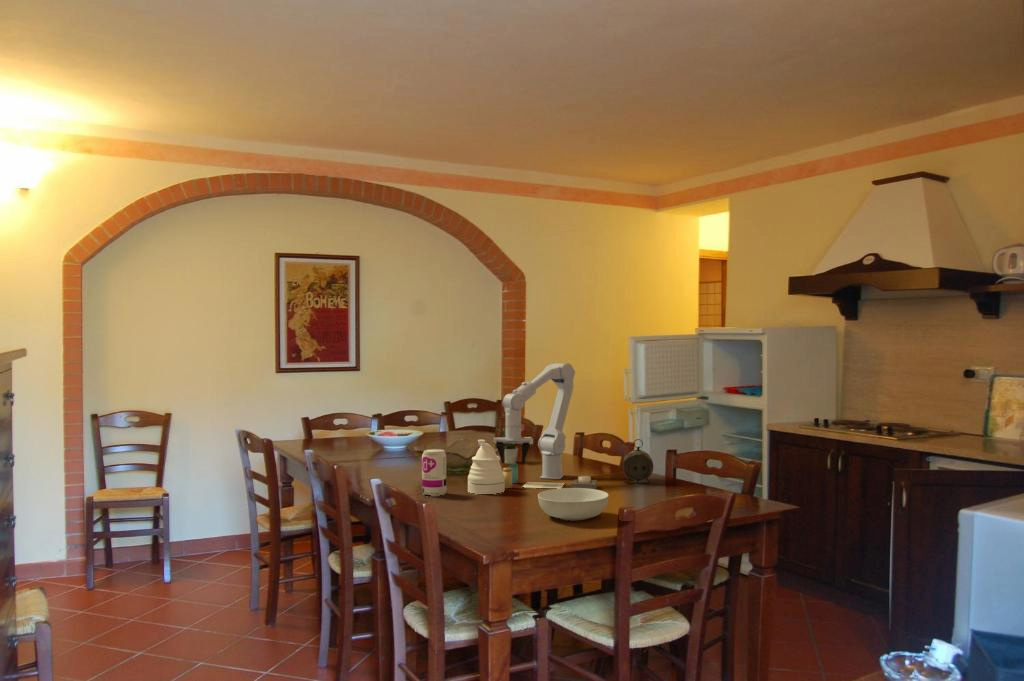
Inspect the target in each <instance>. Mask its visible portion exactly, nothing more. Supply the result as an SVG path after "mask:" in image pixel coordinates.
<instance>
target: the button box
mask: <svg viewBox="0 0 1024 681" xmlns="http://www.w3.org/2000/svg"><path fill="white" fill-rule="evenodd" d="M597 487H598V480H597V479H591V483H578V479H574V480H572V483H571V488H587V489H595V490H597Z"/></svg>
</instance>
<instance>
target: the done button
mask: <svg viewBox="0 0 1024 681" xmlns="http://www.w3.org/2000/svg"><path fill="white" fill-rule="evenodd" d="M577 480H578V483H591V480H592V478H591V476H589V475H579V476H577Z"/></svg>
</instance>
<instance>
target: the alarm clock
mask: <svg viewBox="0 0 1024 681" xmlns="http://www.w3.org/2000/svg"><path fill="white" fill-rule="evenodd" d="M636 441H640V442H641V446H636V445H635V442H636ZM643 445H644V442H643V440H642V439H639V438H636V439H635V440H634V441H633V447H635V448H636V449H633V450H631V451H629V452H627V454H626V455H625V456H624V457H623V460H622V468H623V471H624V474H625V475H626V477H627V478H626V480H625V483H627V482H628V481H629V480H632V481H634V482H636V484H637V485H639V484H640V482H643V481H645V480H646V481H647V482H648V483H649V484H650V483H651V481H650V479H649V477H651V476H652V474H653V471H654V462H653V459H652V457H651V456H650V454H649V453H648V452H646V451H644V450H641V448H642V447H643Z"/></svg>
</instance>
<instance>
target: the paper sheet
mask: <svg viewBox="0 0 1024 681" xmlns="http://www.w3.org/2000/svg"><path fill="white" fill-rule="evenodd" d="M564 484H566V483H565V482H562V483H559V482H538V481H537V482H534V481H533V482H532V481H527V482H526V483H525V484H523V485H522V486H521V488H522V487H524V488H523V489H536V488H557V489H561V488H564V486H565V485H564ZM563 485H564V486H563Z"/></svg>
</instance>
